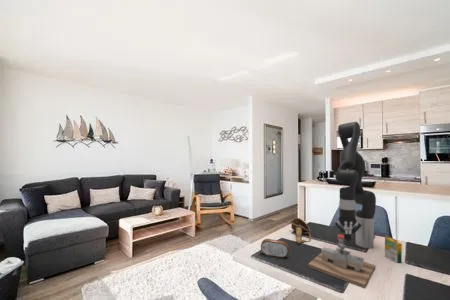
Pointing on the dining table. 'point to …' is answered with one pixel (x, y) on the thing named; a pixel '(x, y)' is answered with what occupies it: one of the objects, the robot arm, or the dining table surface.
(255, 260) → the dining table surface
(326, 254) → the steel pipe and valve
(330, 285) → the dining table surface
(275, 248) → the tin
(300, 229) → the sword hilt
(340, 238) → the lever
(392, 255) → the crayon box
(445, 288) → the dining table surface
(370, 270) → the walnut board
